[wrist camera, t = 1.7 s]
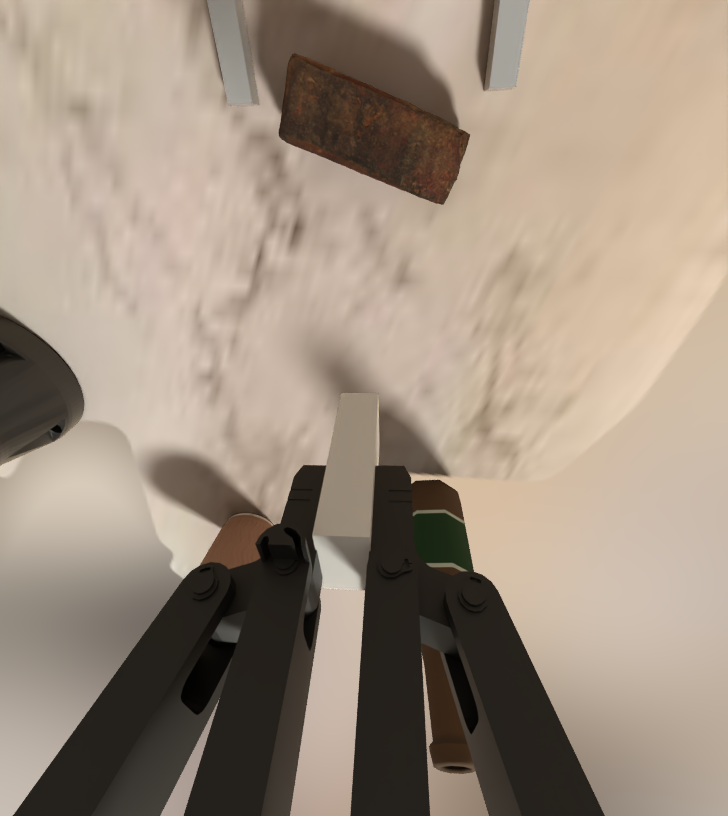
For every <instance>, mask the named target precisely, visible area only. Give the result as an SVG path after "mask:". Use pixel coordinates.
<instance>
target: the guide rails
mask: <svg viewBox="0 0 728 816" xmlns="http://www.w3.org/2000/svg"><path fill="white" fill-rule="evenodd" d="M207 3H208V8H209V13H210V18H211V23H212V28H213V33H214V37H215V42H216V47H217V52H218V57H219V62H220V67H221V72H222V77H223V82H224V86H225V91H226V96H227V101H228V105H232V106H236V107H238V106H254V105H259V99H258V93H257V87H256V81H255V75H254V68H253V62H252V56H251V50H250V44H249V38H248V32H247V26H246V20H245V14H244V8H243V2H242V0H207ZM528 7H529V0H494V9H493V18H492V26H491V35H490V43H489V52H488V60H487V69H486V78H485V86H484V91H497V90H510V89H512V88H515V87H516V84H517V78H518V71H519V65H520V58H521V52H522V45H523V39H524V33H525V26H526V20H527V13H528Z"/></svg>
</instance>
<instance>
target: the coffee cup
mask: <svg viewBox="0 0 728 816" xmlns="http://www.w3.org/2000/svg"><path fill="white" fill-rule="evenodd" d="M272 526H273V524H272V523H271V522H270V521H269V520H267V519H266V518H264V517H262V516H259V515H256V514H251V513H240V514H236V515H233V516H232V517H230V518H229V519H228V521H227V522H226V523H225V524H224V526H223V527H222V529H221V530H220V532H219V534H218V536H217V537H216V539H215V541H214V542H213V544H212V546H211V547H210V549H209V551H208V552H207V554H206V556H205V558H204V559H203V561H202V563H201V564H200V565H202V564H206V563H210V562H216V563H221V564H223V565H224V566H226V567H227V568H228V569H231V568H234V567H238V566H241V565H245V564H249V563H251V562H254V561H256V560H258V559H260V555H259V553H258V550H257V547H256V545H255V543H256V542H257V540H258V538H259V536H260V535H261V534H262V533H263V532H264V531H265V530H266V529H268V528H270V527H272Z"/></svg>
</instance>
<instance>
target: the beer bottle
mask: <svg viewBox="0 0 728 816" xmlns="http://www.w3.org/2000/svg"><path fill="white" fill-rule="evenodd" d="M411 489H412V508H413V528H414V544H415V549H416V551H417V553H418V555H419V557H420V558H421V559H422V560H423V561H424V562H425V563H426V564H427V565H429V566H430V567H432V568H434V569H436V570H439V571H441V572H444V573H447V574H450V575H452V576H453V575H455V574H457V573H459V572H462V571H473V572H474V570H473V564H472V559H471V554H470V549H469V544H468V538H467V533H466V528H465V523H464V517H463V512H462V507H461V502H460V499H459V495H458V492H457V491H456V490H455V489H453V488H452V487H450V486H448V485H447V484H445V483H444V482H442V481H440V480H425V481H424V480H423V481H415V482H414V483H412V484H411ZM421 651H422V656H423V661H424V666H425V674H426V684H427V693H428V701H429V710H430V719H431V728H432V737H433V742H432V743H431V744H430V746H429V749H430V754H431V758H432V762H433V766H434V767H435V768H436V769H438V770H440V771H443V772H447V773H459V774H464V773H471V772H474V771H475V767H474V764H473V761H472V757H471V754H470V751H469V747H468V744H467V741H466V737H465V734H464V731H463V728H462V724H461V721H460V718H459V714H458V711H457V708H456V704H455V701H454V698H453V694H452V691H451V688H450V685H449V681H448V678H447V675H446V671H445V668H444V665H443V661H442V658H441V655H440V651H438V650H436V649H434V648H432V647H429V646H427V645H425V644H423V643H421Z"/></svg>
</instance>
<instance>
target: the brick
mask: <svg viewBox="0 0 728 816" xmlns="http://www.w3.org/2000/svg"><path fill="white" fill-rule="evenodd" d="M279 137H280V138H281V139H282V140H284V141H285V142H287V143H289V144H291V145H294V146H296V147H299V148H301V149H304V150H306V151H309V152H311V153H315V154H317V155H319V156H321V157H324V158H327V159H329V160H331V161H333V162H336V163H338V164H341V165H343V166H346V167H348V168H350V169H353V170H355V171H357V172H359V173H361V174H364V175H367V176H369V177H372V178H374V179H377V180H379V181H382V182H384V183H386V184H388V185H391V186H394V187H396V188H398V189H401V190H403V191H407V192H409V193H411V194H414V195H416V196H418V197H420V198H423V199H426V200H429V201H431V202H434V203H437V204H444V203H445V201H446V199H447V197H448V195H449V193H450V190H451V188H452V186H453V184H454V182H455V181H456V180H457V176H458V174H459V169H460V163H461V161H462V159H463V156H464V154H465V151H466V147H467V145H468V141H469V137H470V134H468V133H467V132H465V131H463V130H461V129H458V128H457V127H455V126H454V125H452V124H450V123H448V122H446V121H444V120H443V119H441V118H439V117H437V116H435V115H432V114H430V113H427V112H425V111H423V110H421V109H419V108H417V107H415V106H414V105H412V104H410V103H407V102H405V101H402V100H400V99H398V98H395V97H393V96H391V95H389V94H387V93H385V92H382V91H380V90H378V89H376V88H373V87H371V86H369V85H367V84H365V83H362V82H360V81H357V80H355V79H353V78H351V77H349V76H346V75H344V74H342V73H339V72H336V71H335V70H333V69H332V68H329V67H327V66H324V65H322V64H320V63H317V62H315V61H313V60H311V59H309V58H306V57H303V56H300V55H297V54H292V56H291V58H290V60H289V63H288V69H287V78H286V87H285V94H284V101H283V108H282V116H281V123H280V128H279Z"/></svg>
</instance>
